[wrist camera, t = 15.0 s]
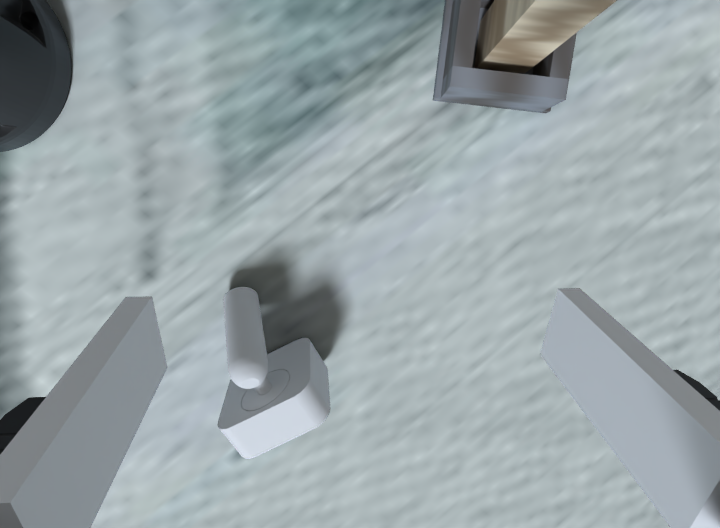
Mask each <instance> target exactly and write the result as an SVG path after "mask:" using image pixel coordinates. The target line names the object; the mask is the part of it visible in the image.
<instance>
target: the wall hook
mask: <svg viewBox="0 0 720 528" xmlns="http://www.w3.org/2000/svg"><path fill="white" fill-rule="evenodd" d="M223 303H224V318H225V332H226V347H227V361H228V371H229V375H230V378H231V380H230V383H229V386H228V390H227V393H226V396H225V400H224V403H223V407H222V410H221V413H220V417H219V420H218V427H219V429H220V430H221V431H222V432H223V434H224V435H225V436H226V437H227V439H228V440H229V441H230V442H231V443H232V445H233V446H234V447H235V448H236V450H237V451H238V452H239V453H240V455H241V456H242V457H243V458H245V459H251V458H254V457H256V456H258V455H260V454H262V453H264V452H267V451H269V450H271V449H273V448H275V447H277V446H279V445H281V444H283V443H286V442H288V441H290V440H292V439H294V438H296V437H298V436H300V435H302V434H304V433H306V432H308V431H310V430H312V429H315V428H316V427H318V426H319V425H321V424H322V423H323V422H324V421H325V420H326V418H327V417H328V415H329V413H330V396H329V382H328V369H327V367H326V365H325V363H324V362H323V360H322V359H321V357H320V355H319V354H318V352H317V351H316V349H315V347H314V346H313V344H312V343H311V341H310V340H309V339H308V338H301V339H298V340H296V341H294V342H291V343H289V344H287V345H285V346H283V347H281V348H279V349H277V350H275V351H273V352H271V353H269V354H267V350H266V344H265V337H264V331H263V324H262V318H261V311H260V305H259V298H258V294H257V292H256V291H255V290H253V289H251V288H248V287H237V288H234V289H231V290H230V291H228V292H227V293H226V294H225V296H224V298H223Z"/></svg>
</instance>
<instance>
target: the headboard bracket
mask: <svg viewBox="0 0 720 528" xmlns="http://www.w3.org/2000/svg"><path fill="white" fill-rule="evenodd" d="M493 2H494V0H445V6H444V14H443V23H442V31H441V39H440V47H439V55H438V63H437V71H436V79H435V88H434V96H433V100H434V101H443V102H452V103H461V104H470V105H479V106H487V107H496V108H505V109H514V110H523V111H532V112H540V113H547V112H549V111H550V110H551V107H552V106H554V105H556V104H558V103H560V102H562V101H564V100H566V94H567V88H568V82H569V76H570V70H571V64H572V58H573V52H574V45H575V39H576V33H577V32H576V33H575V34H574V35H573V36H571V37H570V38H569V39H568V40H566V41H565V42H564V43H563V44H561V45H560V46H559V47H558V48H556V49H555V50H554V51H553V52H551V53H550V54H549V55H548V56H546V57H545V58H544V59H542V60H541V61H540V62H539V63H537V64H536V65H535V66H534V67H532V68H531V69H530V70H529V71H527V72H526V73H525V74H519V73H511V72H502V71H493V70H485V69H476V68H474V65H475V57H476V50H477V43H478V35H479V28H480V21H481V20H482V18H483V17H484V15H485V14H486V12H487V11H488V9H489V8H490V6H491V5H492V3H493Z"/></svg>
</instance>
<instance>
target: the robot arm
mask: <svg viewBox="0 0 720 528" xmlns="http://www.w3.org/2000/svg"><path fill="white" fill-rule="evenodd" d="M70 79H71V59H70V52H69V47H68V43H67V39H66V37H65V34H64V31H63V29H62V26H61V24H60V22H59V20H58V18H57V17H56V15H55V13H54V12H53V10H52V9H51V7H50V6H49V5H48V3H47V2H46V1H45V0H0V152H3V151H8V150H13V149H16V148H19V147H22V146H24V145H26V144H28V143H30V142H32V141H34V140H35V139H37V138H38V137H39V136H41V135H42V134H43V133H44V132H45V131H46V130H47V129H48V128H49V127H50V126H51V125H52V124H53V123H54V121H55V120H56V118H57V117H58V115H59V114H60V112H61V110H62V108H63V106H64V103H65V101H66V98H67V95H68V91H69V86H70ZM540 355H541V356H542V358H543V359H544V360H545V362H546V363H547V364H548V366H549V367H550V368H551V369H552V371H553V372H554V373H555V375H556V376H557V377H558V379H559V380H560V381H561V383H562V384H563V385H564V387H565V388H566V389H567V391H568V392H569V393H570V395H571V396H572V397H573V399H574V400H575V401H576V403H577V404H578V405H579V407H580V408H581V409H582V411H583V412H584V413H585V415H586V416H587V417H588V419H589V420H590V421H591V423H592V424H593V425H594V426H595V428H596V429H597V430H598V432H599V433H600V434H601V436H602V437H603V438H604V440H605V441H606V442H607V444H608V445H609V446H610V448H611V449H612V450H613V452H614V453H615V454H616V456H617V457H618V458H619V460H620V461H621V462H622V464H623V465H624V466H625V468H626V469H627V470H628V472H629V473H630V474H631V476H632V477H633V478H634V479H635V481H636V482H637V483H638V485H639V486H640V487H641V489H642V490H643V491H644V493H645V494H646V495H647V497H648V498H649V499H650V501H651V502H652V503H653V505H654V506H655V507H656V509H657V510H658V511H659V513H660V514H661V515H662V517H663V518H664V519H665V521H666V522H667V523H668V525H669V526H670V527H671V528H720V401H718V400H717V397H716V396H715V395H714V394H713V393H711V392H710V391H709V390H708V389H707V388H706V387H704V386H703V385H702V384H701V383H700V382H698V381H696V380H694V379H693V378H691V377H689V376H687V375H686V374H684V373H682V372H680V371H679V370H672V369H671V368H670V367H669V366H668V365H667V364H665V363H664V362H663V361H662V360H661V359H660V358H659V357H657V356H656V355H655V354H654V353H653V352H652V351H651V350H649V349H648V348H647V347H646V346H645V345H644V344H643V343H641V342H640V341H639V340H638V339H637V338H636V337H635V336H633V335H632V334H631V333H630V332H629V331H628V330H627V329H625V328H624V327H623V326H622V325H621V324H620V323H619V322H617V321H616V320H615V319H614V318H613V317H612V316H611V315H609V314H608V313H607V312H606V311H605V310H604V309H603V308H602V307H600V306H599V305H598V304H597V303H596V302H595V301H594V300H592V299H591V298H590V297H589V296H588V295H587V294H586V293H584V292H583V291H582V290H581V289H580V288H566V289H558V291H557V294H556V298H555V302H554V305H553V309H552V312H551V316H550V320H549V323H548V327H547V331H546V334H545V338H544V341H543V345H542V349H541V352H540ZM166 369H167V363H166V359H165V354H164V349H163V345H162V340H161V336H160V331H159V326H158V322H157V317H156V313H155V308H154V303H153V299H152V297H125V299H124V300H123V301H122V302H121V304H120V305H119V306H118V307H117V309H116V310H115V311H114V312H113V314H112V315H111V316H110V317H109V319H108V320H107V321H106V322H105V324H104V325H103V326H102V327H101V329H100V330H99V331H98V333H97V334H96V335H95V336H94V338H93V339H92V340H91V341H90V343H89V344H88V345H87V346H86V348H85V349H84V350H83V351H82V353H81V354H80V355H79V356H78V358H77V359H76V360H75V361H74V363H73V364H72V365H71V366H70V368H69V369H68V370H67V371H66V373H65V374H64V375H63V376H62V378H61V379H60V380H59V382H58V383H57V384H56V385H55V387H54V388H53V389H52V390H51V392H50V393H49V394H48V395H47V397H33V398H28V399H26V400H25V401H24V402H22V403H21V404H19V405H18V406H17V407H15V408H14V409H12V410H11V411H10V412H8V413H7V414H5V415H4V417H3V418H2V419H1V420H0V528H90V527H91V525H92V523H93V521H94V519H95V517H96V515H97V513H98V511H99V509H100V507H101V504H102V502H103V500H104V498H105V496H106V494H107V492H108V490H109V488H110V486H111V484H112V482H113V480H114V477H115V475H116V473H117V471H118V469H119V467H120V465H121V463H122V461H123V459H124V457H125V455H126V452H127V450H128V448H129V446H130V444H131V442H132V440H133V438H134V436H135V434H136V432H137V430H138V428H139V425H140V423H141V421H142V419H143V417H144V415H145V413H146V411H147V409H148V407H149V405H150V403H151V400H152V398H153V396H154V394H155V392H156V390H157V388H158V386H159V384H160V382H161V380H162V378H163V376H164V373H165V371H166Z"/></svg>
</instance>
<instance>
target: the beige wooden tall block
mask: <svg viewBox="0 0 720 528" xmlns="http://www.w3.org/2000/svg"><path fill="white" fill-rule="evenodd" d="M616 1H617V0H494V2H493V3H492V5H491V6H490V8H489V9H488V11H487V12H486V14H485V15H484V17H483V18H482V20H481V21H480V28H479V35H478V43H477V50H476V57H475V65H474V68H476V69H485V70H493V71H502V72H511V73H519V74H525V73H526V72H527V71H529V70H530V69H531V68H532V67H534V66H535V65H536V64H537V63H539V62H540V61H541V60H542V59H544V58H545V57H546V56H548V55H549V54H550V53H551V52H553V51H554V50H555V49H556V48H558V47H559V46H560V45H561V44H563V43H564V42H565V41H566V40H568V39H569V38H570V37H571V36H573V35H574V34H575V33H576V32H578V31H579V30H580V29H582V28H583V27H584V26H585V25H587V24H588V23H589V22H590V21H592V20H593V19H594V18H595V17H597V16H598V15H599V14H600V13H602V12H603V11H604V10H605V9H607V8H608V7H609V6H611V5H612V4H613V3H614V2H616Z"/></svg>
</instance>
